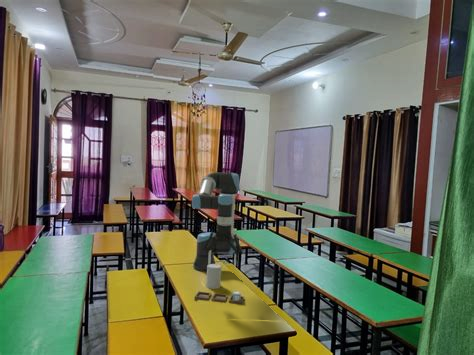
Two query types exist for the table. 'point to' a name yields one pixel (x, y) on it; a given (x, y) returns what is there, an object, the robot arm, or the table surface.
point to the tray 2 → (219, 297)
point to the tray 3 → (236, 301)
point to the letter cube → (236, 296)
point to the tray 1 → (202, 295)
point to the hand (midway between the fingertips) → (222, 264)
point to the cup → (213, 276)
